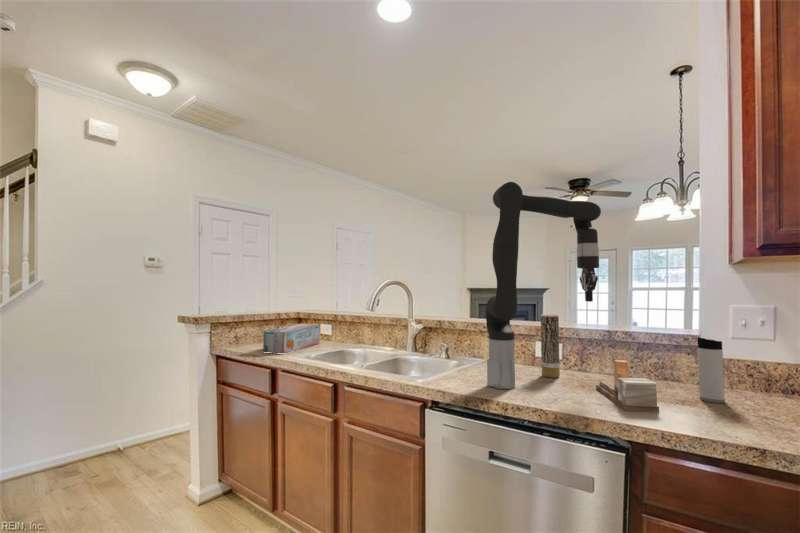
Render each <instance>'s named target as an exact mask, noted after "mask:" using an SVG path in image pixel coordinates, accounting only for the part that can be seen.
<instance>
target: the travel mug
mask: <svg viewBox="0 0 800 533" xmlns="http://www.w3.org/2000/svg"><path fill="white" fill-rule="evenodd" d="M723 353H724V352H723V340H722V341H721V340H714V339H710V338H704V337H697V363H698V364H697V366H698V386H699V388H698V391H699V399H700V400H701V401H703V400H704V401H703V402H706V401H708V402H707V403H711V402H712V404H724V403H725V402H726V397H725V395H726V394H725V376H724V354H723Z"/></svg>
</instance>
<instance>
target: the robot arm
mask: <svg viewBox="0 0 800 533" xmlns="http://www.w3.org/2000/svg"><path fill="white" fill-rule="evenodd" d="M492 202H493V204H494V206H495V207H496V208H498V209H499V220H498V224H497V228H496V232H495V234H494V237H493V243H492V255H491V256H492V257H491V258H492V259H491V260H492V266H493V270H494V275H495V278H496V293H495V295H493V296H491V297H490V298H488V301H486V306H485V321H486V330H487V333H488V359H487V360H486V378H487V379H486V381H487V383H486V384H487V386H488V387H491V388H495V389H497V390H509V389H514V388H516V362H515V359H516V358H515V357H516V356H515V351H516V350H515V331H514V330H513V329H512V327H511V322H510V321H511V320H513V319H514V318H515V317H516V315H517V312H518V296H517V295H518V293H517V292H518V291H517V277H518V276H517V275H518V260H519V242H520V241H519V240H520V238H519V237H520V215H521V211H522V212H531V213H537V214H542V215H547V216H554V217H558V218H563V219H569V218H573V224H574V227H575V228H574V229H575V231H576V234H577V235H576V237H577V238H576V243H577V245H576V267H577V269H581V275H580V277H579V282H580V285H581V288H582V290H583V291H584V299H585V300H584V302H593V300H594V298H593V292H594V290H596V287H597V283H598V279H599V277H598V275H596V272H595V269H599V268H600V250H599V249H600V248H599V243H598V242H599V240H598V239H599V238H598V230H597V229H596V228H593V226H592V225H593V224H592V222H593V221H596V220H597V219H599V217H600V216H601V214H602V210H601V207H600V205H598V204H597V203H596V202H593V201H588V200H571V199H567V198H563V197H557V196H550V195H549V196H548V195H547V196H546V195H545V196H543V195H528V194H524V193H523V189H522V187H521V186H520V185H519V184H518V183H517V182H515V181H508V182H505V183H503V184H502V185H501V186H499V187H497V190H495V191H494V193H493V196H492Z"/></svg>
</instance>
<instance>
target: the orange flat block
mask: <svg viewBox="0 0 800 533" xmlns="http://www.w3.org/2000/svg"><path fill="white" fill-rule="evenodd" d="M628 366H629V362H628V361H626V360H624V359H623V360H619V359H614V360H613V385H614V389H616V390H618V378H629V367H628Z"/></svg>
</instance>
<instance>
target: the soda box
mask: <svg viewBox="0 0 800 533" xmlns="http://www.w3.org/2000/svg"><path fill="white" fill-rule="evenodd" d="M262 344H263V346H262V348H263V349H262V353H263V352H270V353H271V352H272V353H288V352H291V353H293V352H292V351H295V352H297V351H296V350H298V351H300V349H301V350H304V349H306V348H310V347H312V346H316V345H318V344H320V323H297V324H293V325H287V326H283V327H279V328H277V327H276V328H273V329H269V330H264V331H263V343H262ZM303 348H304V349H303ZM288 354H289V353H288Z"/></svg>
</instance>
